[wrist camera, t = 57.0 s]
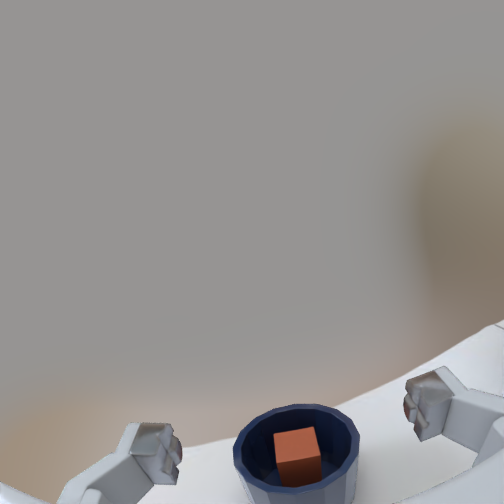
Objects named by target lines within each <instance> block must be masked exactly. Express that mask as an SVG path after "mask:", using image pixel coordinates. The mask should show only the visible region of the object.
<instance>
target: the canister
mask: <svg viewBox="0 0 504 504" xmlns="http://www.w3.org/2000/svg"><path fill="white" fill-rule="evenodd" d="M309 427H314V431H315V435H316V439H317V443H318V447H319V451H320V455H321V470H322V481H320V482H317V483H313V484H309V485H305V486H301V487H296V488H292V487H283V486H282V482H281V479H280V475H279V471H278V467H277V463H276V453H275V443H274V434H275V433H282V432H288V431H293V430H299V429H304V428H309ZM359 442H360V434H359V432H358V431H357V429H356V427H355V425H354V423H353V421H352V420H351V419H350V418H349V417H347V416H346V415H344V414H343V413H341V412H340V411H339V410H337V409H334V408H330V407H327V406H323V405H319V404H292V405H288V406H284V407H279V408H275V409H272V410H270V411H268V412H266V413H264V414H262V415H260V416H258V417H256V418H255V419H253V420H252V421H251V422H250V423H249V424H248V425H247V426H246V427H245V428H244V429H243V430H241V432H240V433H239V435H238V438H237V440H236V442H235V444H234V446H233V460H234V466H235V468H236V471H237V473H238V475H239V478H240V480H241V482H242V484H243V487H244V489H245V491H246V493H247V495H248V497H249V499H250V502H251V504H351V503H352V501H353V500H354V494H355V486H356V477H357V467H358V456H359Z"/></svg>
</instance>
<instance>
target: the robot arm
mask: <svg viewBox="0 0 504 504" xmlns="http://www.w3.org/2000/svg"><path fill="white" fill-rule="evenodd" d="M405 389H406V391H407V392H408V393H407V395H406V396H405V397H404V404H403V406H404V412H405V415H406V417H407V419H408V421H409V422H411V423H414V424H415V425H414V431H415V433H416V435H417V436H418V438H419V440H420V442H422V441H425V440H427V439H430V438H432V437H435V436H437V435H439V434H442V435H443V436H445V437H447V438H449V439H451V440H453V441H455V442H457V443H459V444H461V445H463V446H465V447H467V448H469V449H471V450H473V451H475V452H477V453H479V454H478V456H477V457H476V459H475V461H474V463H473V465H472V468H470V469H469V470H467V471H465V472H463V473H461V474H459V475H457V476H455V477H454V478H452V479H450V480H448V481H446V482H443V483H441V484H439V485H437V486H435V487H433V488H431V489H428V490H426V491H424V492H421V493H419V494H417V495H414V496H412V497H409V498H407V499H404V500H401V501H399V502H396V503H393V504H504V397H501V396H497V395H493V394H489V393H486V392H482V391H478V390H475V389H469V390H467V388H466V387H465V386H464V385H463V384H462V383H461V382H460V381H459V380H458V379H457V378H456V376H455V375H454V374H453V373H452V372H451V371H450V370H449V369H448V368H447V367H446V366H442V367H440V368H437V369H435V370H432V371H430V372H428V373H425V374H422V375H420V376H417V377H414V378H412V379H409V380H407V382H406V387H405ZM173 432H174V430H173V428H172V426H171V424H168V423H132V422H131V423H129V424H128V425H127V427H126V429H125V431H124V434H123V436H122V438H121V440H120V442H119V445H118V447H117V449H116V451H115V453H110V454H109V455H107V456H106V457H104V458H103V459H101V460H100V461H98V462H97V463H95V464H94V465H92V466H91V467H89V468H88V469H87V470H85V471H83V472H82V473H80V474H79V475H78V476H76V477H74V478H73V479H71V480H70V481H68V482H67V484H66V485H65V488H64V489H63V492H62V493H61V495H60V498H59V499H58V502H57V504H137V503H138V502H139V501H140V500H141V499H142V497H143V496H144V495H145V494H146V493H147V492H148V491H149V490H150V489H151V488H152V487H153V486H154V484H160V485H176V483H177V479H178V474H179V470H178V468H177V467H176V466H177V465H178V464H179V463H181V460H182V446H181V443H180V441H179V439H178V438H177V437H175V436H173ZM0 504H51V503H48V502H45V501H43V500H41V499H38V498H35V497H33V496H31V495H28V494H26V493H24V492H21V491H19V490H17V489H15V488H13V487H11V486H9V485H7V484H5V483H3V482H1V481H0Z"/></svg>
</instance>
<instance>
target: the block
mask: <svg viewBox="0 0 504 504" xmlns="http://www.w3.org/2000/svg"><path fill="white" fill-rule="evenodd" d="M274 443H275V453H276V463H277V467H278V471H279V475H280V479H281V482H282V486H283V487H292V488H296V487H301V486H305V485H309V484H313V483H317V482H320V481H322V470H321V455H320V451H319V447H318V443H317V439H316V435H315V431H314V427H309V428H304V429H299V430H293V431H288V432H282V433H275V434H274Z"/></svg>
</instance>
